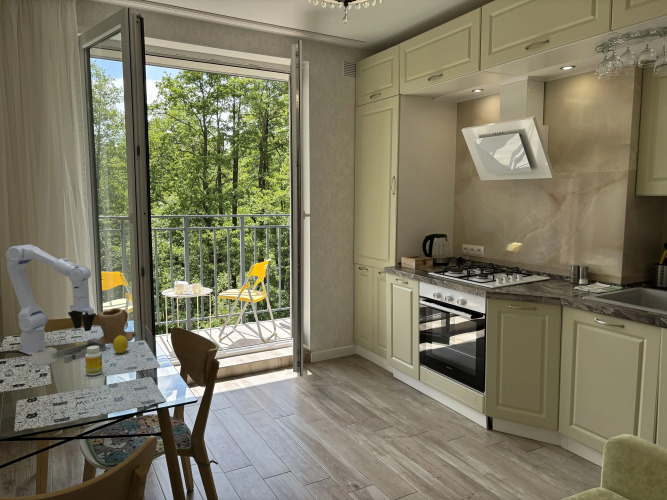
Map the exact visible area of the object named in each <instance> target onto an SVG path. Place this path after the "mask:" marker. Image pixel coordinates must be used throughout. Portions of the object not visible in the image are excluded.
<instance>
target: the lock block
mask: <svg viewBox="0 0 667 500" xmlns="http://www.w3.org/2000/svg"><path fill="white" fill-rule="evenodd" d="M57 351H58V348H55V347H52V346H49V347H46V348H45V349H40V350H36V351H32V354H31V359H32V362H31V363H32V365H34V366H37V367H40V366H44V365H48V364H53V363H55V362H57V361H58V356H57Z"/></svg>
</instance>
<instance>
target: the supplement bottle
mask: <svg viewBox="0 0 667 500" xmlns="http://www.w3.org/2000/svg"><path fill="white" fill-rule="evenodd" d="M86 351H87V352H88V353H87V354H86V355H85V357H84V358H85V359H84V360H85V361H84V362H85V373H86V375H87V376H97V375H99V374H102V373H103V354H102V352H99V346H90V347H88V348H86Z"/></svg>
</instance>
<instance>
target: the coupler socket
mask: <svg viewBox="0 0 667 500" xmlns="http://www.w3.org/2000/svg"><path fill="white" fill-rule="evenodd" d="M86 343H87V344H83V345H79V346H75V345H74V346H72V347H67V348H64V349H60V350H57V357H61V356H64V355H67V354H69V355H67V356H65V357H63V360H64V361H63V362H64V364H68V363H70V362H72V361H73V360H79V359H82V358H85V357H84V356H85V355H86V354H87V353H88V352H87V350H84V349H87V348H88V347H90V346H99V352H101V351H102V352H105V351H107V350H106V349H107V348H106V344H105V343H102V342H99V341H98V340H95V339H87V341H86ZM81 350H83V351H81ZM77 351H80V352H77ZM74 352H77V353H74ZM102 352H101V353H102Z"/></svg>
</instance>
